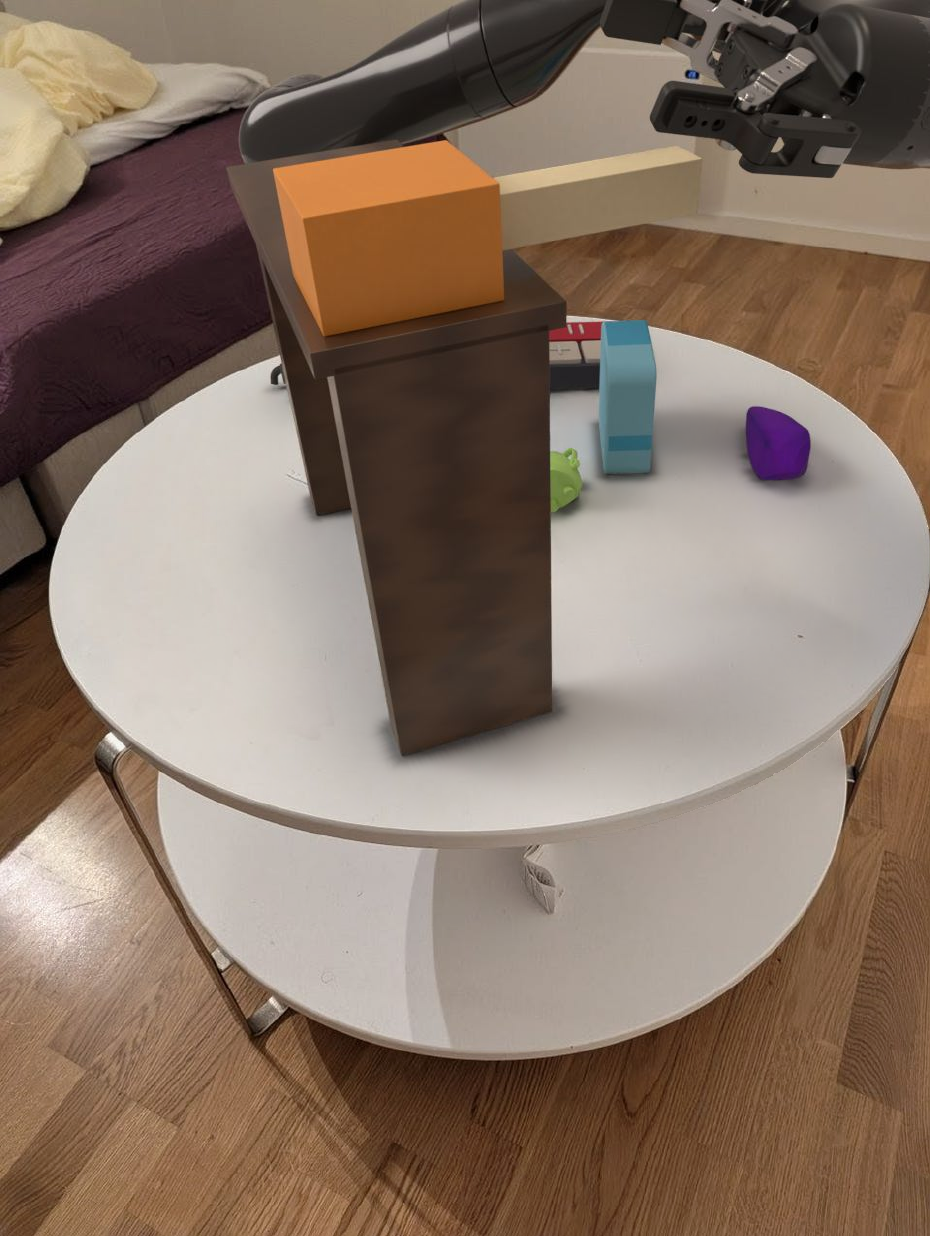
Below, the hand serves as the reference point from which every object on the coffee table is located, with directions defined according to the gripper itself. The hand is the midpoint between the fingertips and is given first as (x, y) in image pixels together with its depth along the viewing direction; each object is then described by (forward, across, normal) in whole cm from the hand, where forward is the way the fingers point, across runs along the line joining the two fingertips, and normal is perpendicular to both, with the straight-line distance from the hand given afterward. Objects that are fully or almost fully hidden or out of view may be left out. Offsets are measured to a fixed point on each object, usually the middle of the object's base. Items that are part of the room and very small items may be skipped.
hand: (630, 56), depth 47 cm
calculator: (-24, +30, -52) cm, 64 cm away
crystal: (-36, +7, -40) cm, 54 cm away
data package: (-23, +12, -45) cm, 52 cm away
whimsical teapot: (-13, +6, -45) cm, 47 cm away
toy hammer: (+5, -3, -11) cm, 12 cm away
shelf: (+3, -3, -46) cm, 46 cm away
